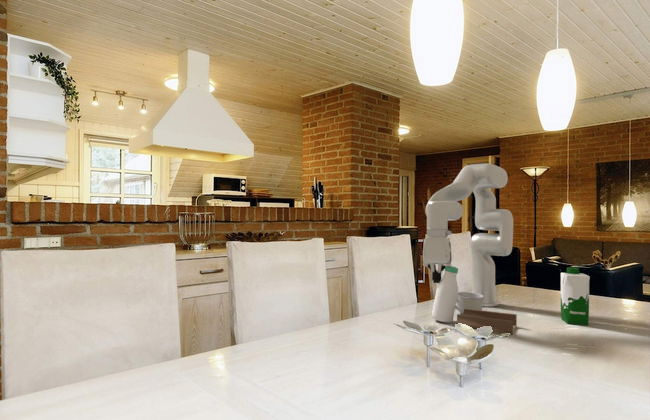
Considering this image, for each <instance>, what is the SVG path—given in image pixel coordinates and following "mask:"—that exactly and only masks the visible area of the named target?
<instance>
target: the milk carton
mask: <svg viewBox="0 0 650 420" xmlns="http://www.w3.org/2000/svg"><path fill="white" fill-rule="evenodd" d="M590 277H591V276H589V275H587V274H585V273H581V272H580V268H579V267H571V266H570V267H566V271H565V272H560V316H561V320H562V321H563V322H564V321H565V322H564V323H566V324H567V325H580V326H589V321H590V320H589V319H590V318H589V316H590V279H591V278H590Z"/></svg>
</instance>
